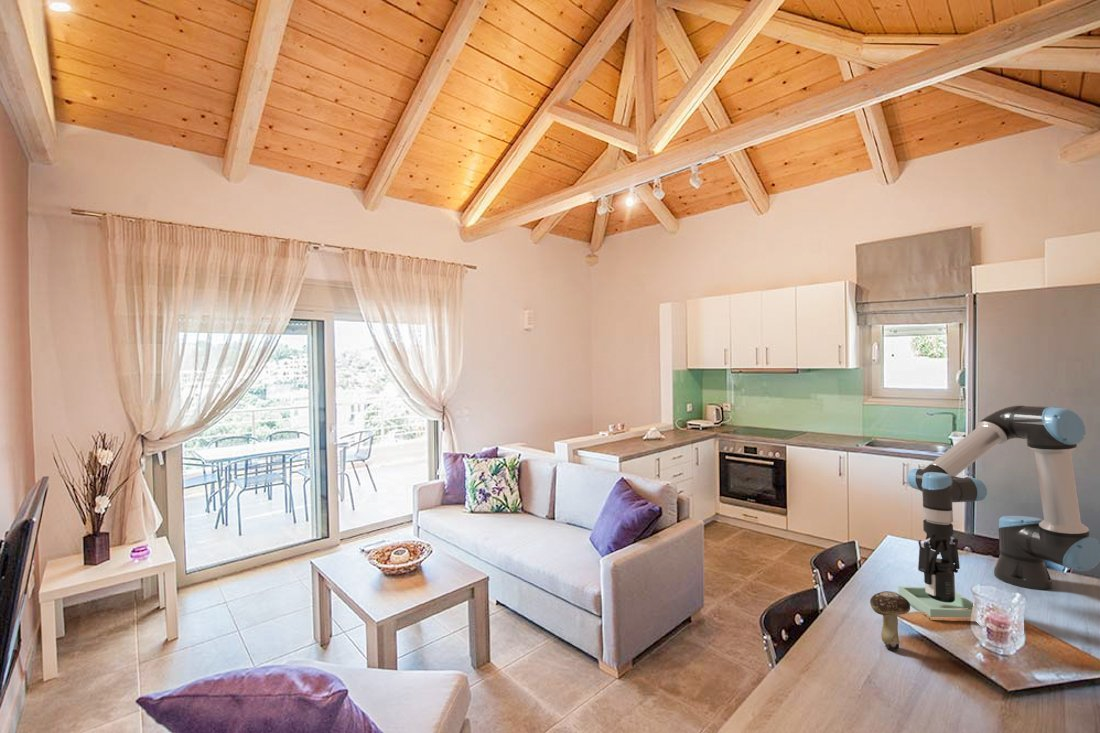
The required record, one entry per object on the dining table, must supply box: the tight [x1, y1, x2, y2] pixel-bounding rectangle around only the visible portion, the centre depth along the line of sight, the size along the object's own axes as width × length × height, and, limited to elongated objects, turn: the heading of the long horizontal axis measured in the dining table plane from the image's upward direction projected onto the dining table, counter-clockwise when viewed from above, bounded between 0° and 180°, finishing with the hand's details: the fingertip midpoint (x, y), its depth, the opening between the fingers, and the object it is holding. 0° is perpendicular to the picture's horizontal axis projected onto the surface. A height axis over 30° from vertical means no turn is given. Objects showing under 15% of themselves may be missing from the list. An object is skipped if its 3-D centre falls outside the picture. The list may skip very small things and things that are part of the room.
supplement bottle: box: [928, 557, 956, 603], centre depth 155 cm, size 7×7×12 cm
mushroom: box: [869, 590, 911, 652], centre depth 133 cm, size 9×9×15 cm
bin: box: [897, 585, 974, 617], centre depth 155 cm, size 16×16×4 cm
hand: (939, 592), depth 155 cm, fingers closed on supplement bottle, 7 cm apart
